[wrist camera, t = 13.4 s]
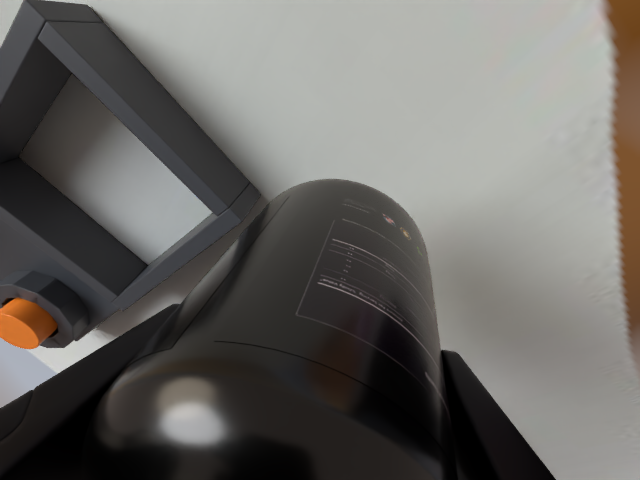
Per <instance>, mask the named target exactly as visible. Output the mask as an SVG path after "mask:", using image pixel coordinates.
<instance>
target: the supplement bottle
mask: <svg viewBox="0 0 640 480" xmlns="http://www.w3.org/2000/svg"><path fill="white" fill-rule="evenodd" d="M81 474H82V480H458V474H457V466H456V459H455V451H454V444H453V436H452V429H451V421H450V414H449V406H448V399H447V391H446V384H445V377H444V369H443V362H442V354H441V347H440V339H439V332H438V325H437V317H436V310H435V302H434V295H433V287H432V280H431V273H430V266H429V260H428V254H427V250H426V246H425V243H424V240H423V237H422V235H421V233H420V231H419V229H418V227H417V225H416V224H415V222H414V221H413V219H412V218H411V217H410V216H409V214H408V213H407V212H406V211H405V210H404V209H403V208H402V207H401V206H400V205H399V204H398V203H396V202H395V201H394V200H393V199H391V198H390V197H388V196H387V195H385V194H384V193H382V192H380V191H378V190H376V189H374V188H372V187H370V186H367V185H364V184H361V183H358V182H353V181H349V180H341V179H322V180H315V181H309V182H306V183H302V184H299V185H297V186H294V187H292V188H290V189H288V190H286V191H284V192H283V193H281V194H280V195H278V196H277V197H276V198H275V199H274V200H272V201H271V202H270V203H269V204H268V205H267V206H266V207H265V208H264V209H263V210H262V212H261V213H260V214H259V215H258V216H257V217H256V218H255V219H254V220H253V221H252V222H251V224H250V225H249V226H248V227H247V228H246V229H245V230H244V232H243V233H242V234H241V235H240V236H239V237H238V238H237V240H236V241H235V242H234V243H233V244H232V245H231V246H230V248H229V249H228V250H227V251H226V252H225V253H224V254H223V256H222V257H221V258H220V259H219V260H218V261H217V263H216V264H215V265H214V266H213V267H212V268H211V269H210V271H209V272H208V273H207V274H206V275H205V276H204V277H203V279H202V280H201V281H200V282H199V283H198V284H197V285H196V287H195V288H194V289H193V290H192V291H191V292H190V293H189V295H188V296H187V297H186V298H185V299H184V300H183V301H182V303H181V304H180V305H179V306H178V307H177V308H176V309H175V311H174V312H173V313H172V314H171V315H170V316H169V317H168V319H167V320H166V321H165V322H164V323H163V324H162V326H161V327H160V328H159V329H158V330H157V331H156V332H155V334H154V335H153V336H152V337H151V338H150V339H149V340H148V342H147V343H146V344H145V345H144V346H143V347H142V348H141V350H140V351H139V352H138V353H137V354H136V355H135V356H134V358H133V359H132V360H131V361H130V362H129V363H128V365H127V366H126V367H125V368H124V369H123V370H122V372H121V373H120V374H119V375H118V377H117V378H116V379H115V381H114V382H113V383H112V384H111V385H110V387H109V388H108V389H107V391H106V392H105V393H104V395H103V396H102V398H101V399H100V401H99V403H98V404H97V406H96V408H95V410H94V412H93V415H92V417H91V420H90V423H89V426H88V429H87V432H86V436H85V440H84V444H83V451H82V461H81Z"/></svg>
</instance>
